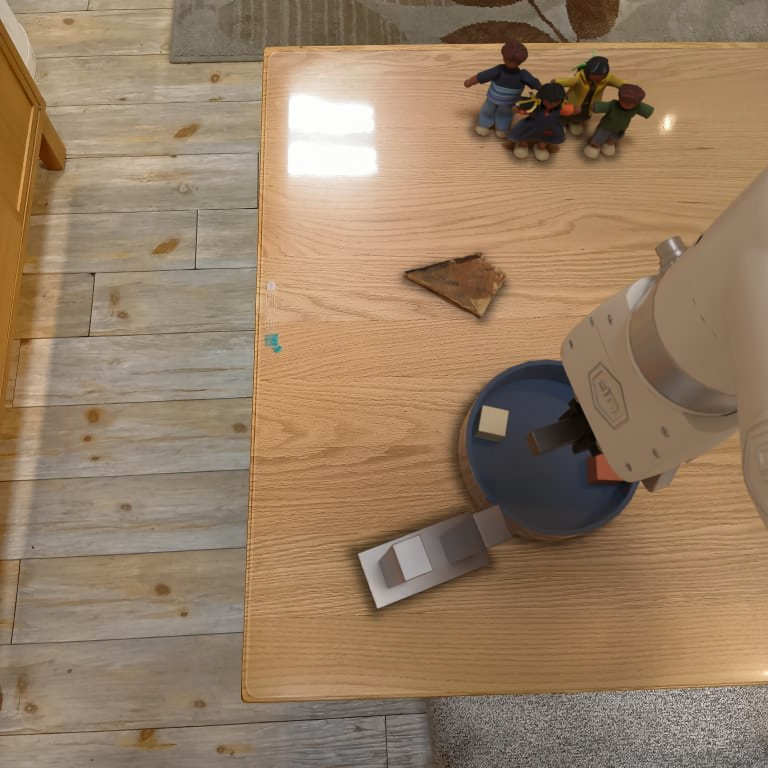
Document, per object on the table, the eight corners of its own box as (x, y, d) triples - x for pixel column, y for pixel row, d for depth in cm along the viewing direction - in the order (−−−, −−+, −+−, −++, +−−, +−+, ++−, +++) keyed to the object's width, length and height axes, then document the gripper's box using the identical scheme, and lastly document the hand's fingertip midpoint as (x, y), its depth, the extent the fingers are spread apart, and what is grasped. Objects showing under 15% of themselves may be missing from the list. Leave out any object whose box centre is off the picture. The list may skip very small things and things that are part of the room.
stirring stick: (524, 436, 49) (530, 431, 48) (646, 393, 51) (656, 387, 49) (533, 457, 49) (539, 452, 47) (656, 413, 50) (666, 407, 49)
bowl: (652, 504, 77) (675, 497, 72) (498, 566, 74) (510, 563, 69) (578, 354, 82) (594, 337, 77) (432, 406, 79) (438, 392, 74)
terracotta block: (613, 485, 77) (624, 480, 74) (587, 484, 77) (597, 479, 74) (612, 459, 78) (622, 453, 75) (586, 458, 78) (595, 452, 75)
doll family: (465, 170, 90) (486, 98, 77) (452, 114, 92) (471, 35, 80) (631, 154, 92) (678, 82, 79) (614, 100, 95) (657, 21, 82)
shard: (402, 277, 84) (404, 270, 82) (433, 232, 86) (435, 224, 85) (479, 321, 83) (482, 315, 81) (508, 274, 85) (512, 267, 83)
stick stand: (488, 564, 74) (541, 548, 55) (376, 609, 72) (390, 609, 53) (467, 512, 76) (511, 479, 57) (356, 554, 73) (364, 535, 54)
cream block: (498, 442, 78) (505, 436, 75) (473, 437, 78) (478, 430, 75) (502, 417, 79) (509, 410, 76) (477, 412, 79) (482, 404, 76)
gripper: (576, 224, 35) (497, 353, 53) (721, 511, 31) (583, 548, 48) (701, 187, 37) (584, 325, 54) (857, 458, 32) (675, 513, 50)
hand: (584, 430), depth 51 cm, fingers closed on stirring stick, 1 cm apart
